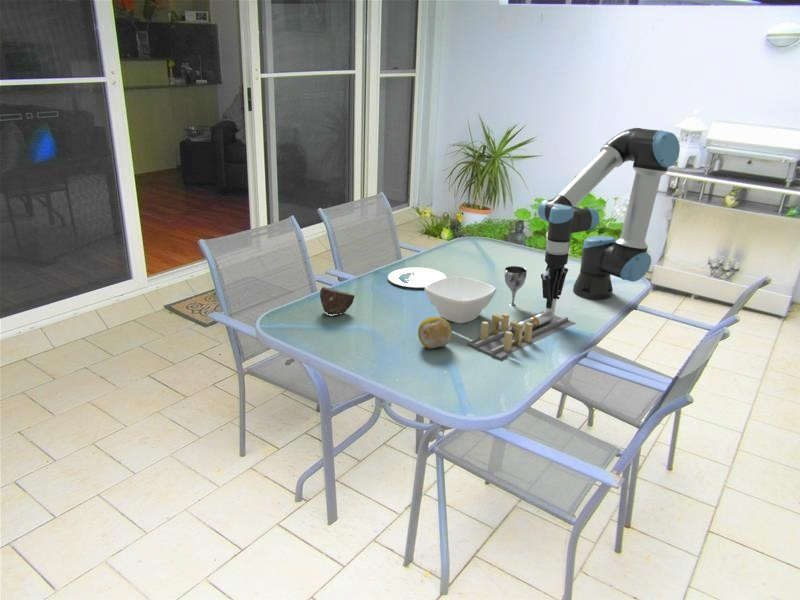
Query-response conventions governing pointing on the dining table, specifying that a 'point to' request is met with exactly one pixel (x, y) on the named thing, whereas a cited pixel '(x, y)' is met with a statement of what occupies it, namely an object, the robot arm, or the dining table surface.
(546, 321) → the tube
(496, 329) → the aperture bridge
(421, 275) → the plate
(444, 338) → the fruit
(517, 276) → the wine glass
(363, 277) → the dining table surface
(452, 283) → the bowl
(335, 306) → the brown coconut half
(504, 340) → the guide plate
